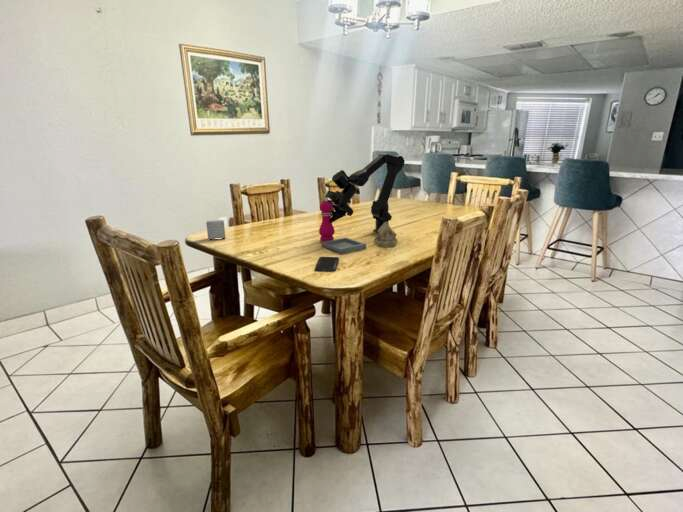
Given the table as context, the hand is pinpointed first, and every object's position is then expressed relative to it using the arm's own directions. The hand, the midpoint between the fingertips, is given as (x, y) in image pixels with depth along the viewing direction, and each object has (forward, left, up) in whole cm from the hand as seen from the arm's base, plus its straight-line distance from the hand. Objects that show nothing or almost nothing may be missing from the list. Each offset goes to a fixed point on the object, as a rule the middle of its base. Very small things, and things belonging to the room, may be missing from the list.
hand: (326, 221), depth 167 cm
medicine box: (-36, -39, -9) cm, 54 cm away
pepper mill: (0, 0, -9) cm, 9 cm away
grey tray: (+14, -1, -9) cm, 17 cm away
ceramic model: (+20, +19, -10) cm, 29 cm away
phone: (+28, -20, -10) cm, 36 cm away
